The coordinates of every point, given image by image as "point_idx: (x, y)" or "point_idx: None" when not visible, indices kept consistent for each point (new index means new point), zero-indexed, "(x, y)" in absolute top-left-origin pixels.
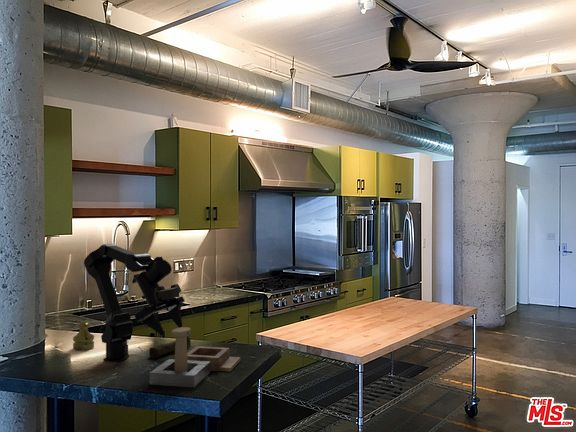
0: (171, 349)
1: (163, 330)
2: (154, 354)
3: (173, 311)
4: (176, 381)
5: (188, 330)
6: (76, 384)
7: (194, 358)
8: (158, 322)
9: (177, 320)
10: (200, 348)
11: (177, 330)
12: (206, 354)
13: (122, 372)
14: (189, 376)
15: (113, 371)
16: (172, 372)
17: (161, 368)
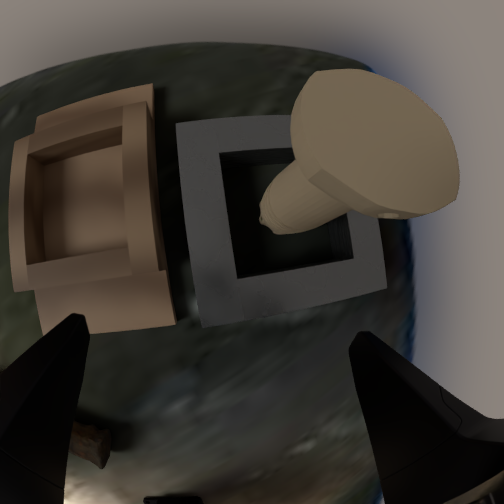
0: None
1: (377, 349)
2: (109, 441)
3: (22, 499)
4: None
5: (374, 76)
6: None
7: (153, 210)
8: (448, 401)
9: (59, 392)
10: (27, 259)
11: (429, 157)
12: (38, 232)
13: (288, 439)
14: None
15: (287, 462)
16: None
17: (336, 276)
